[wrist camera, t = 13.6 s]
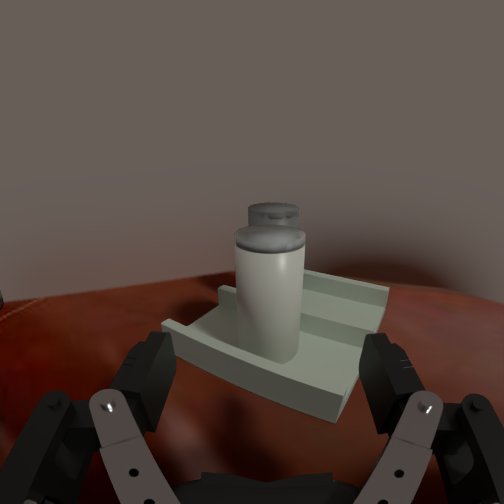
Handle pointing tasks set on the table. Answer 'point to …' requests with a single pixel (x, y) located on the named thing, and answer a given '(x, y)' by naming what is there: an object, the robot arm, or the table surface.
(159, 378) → the robot arm
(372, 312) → the divided tray
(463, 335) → the table surface
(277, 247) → the white cylinder
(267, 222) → the grey cylinder
